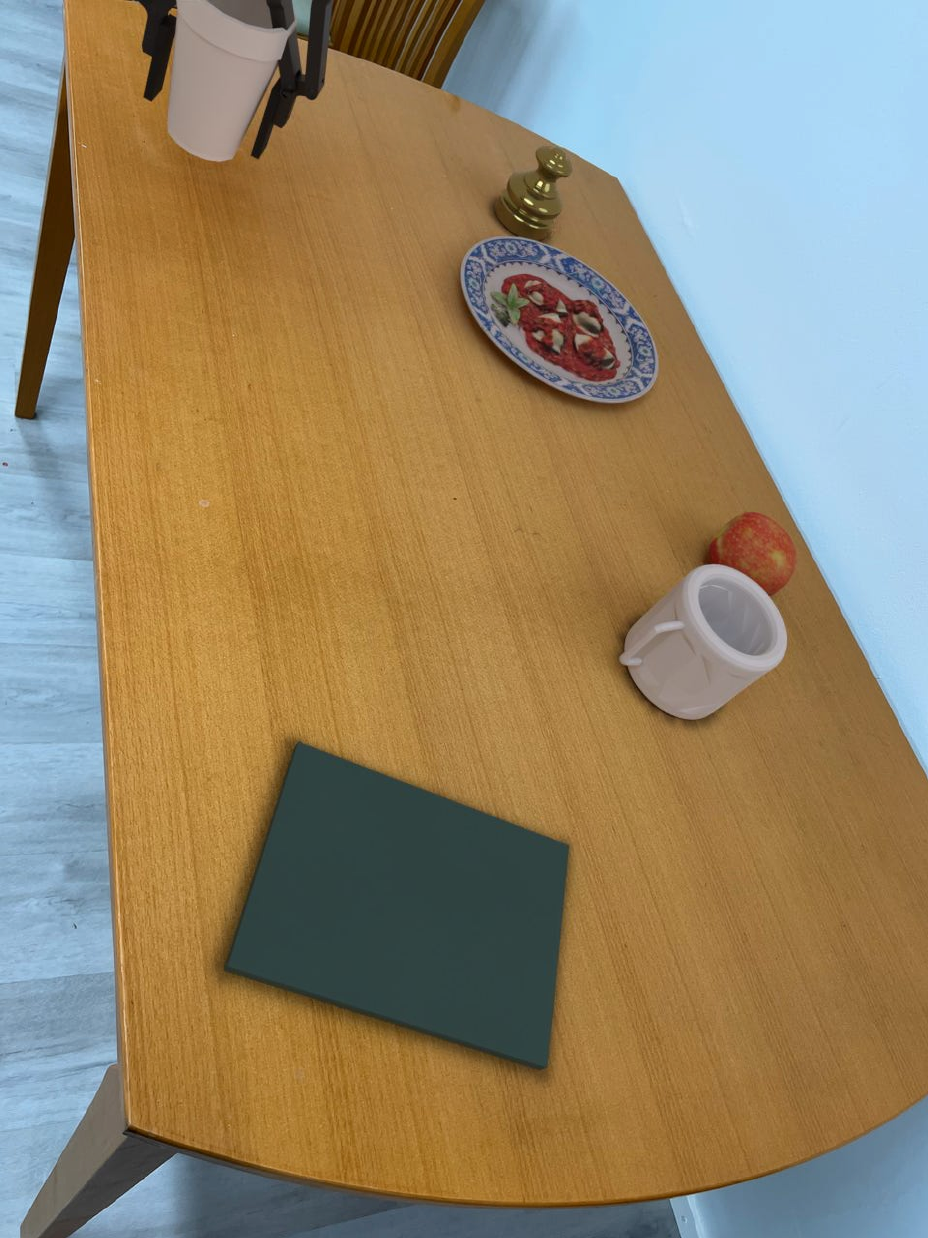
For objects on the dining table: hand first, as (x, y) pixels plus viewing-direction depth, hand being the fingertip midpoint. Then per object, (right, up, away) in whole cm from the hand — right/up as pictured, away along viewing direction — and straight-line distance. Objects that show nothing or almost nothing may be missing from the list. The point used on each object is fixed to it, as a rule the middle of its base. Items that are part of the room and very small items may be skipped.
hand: (206, 122), depth 87 cm
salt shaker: (+30, +5, +34) cm, 46 cm away
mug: (+41, -49, +2) cm, 64 cm away
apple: (+51, -40, +14) cm, 66 cm away
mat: (+20, -64, -21) cm, 70 cm away
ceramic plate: (+33, -11, +25) cm, 43 cm away
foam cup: (-1, -1, +1) cm, 2 cm away
